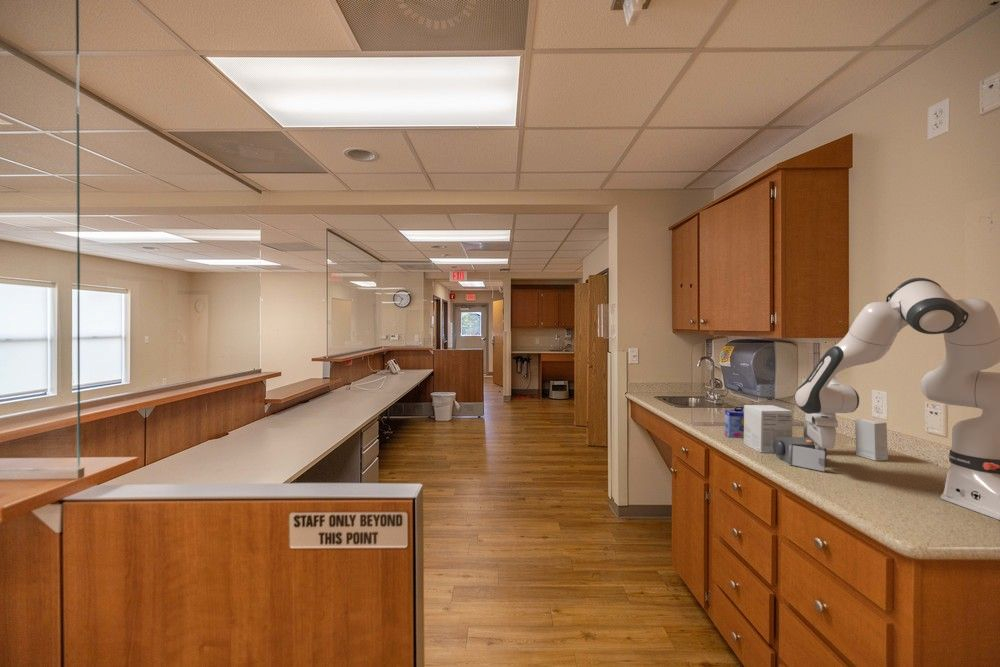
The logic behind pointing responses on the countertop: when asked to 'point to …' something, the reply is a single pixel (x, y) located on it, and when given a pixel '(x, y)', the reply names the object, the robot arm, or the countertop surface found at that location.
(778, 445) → the camera housing
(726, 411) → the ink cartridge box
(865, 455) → the skincare box
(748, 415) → the supplement box
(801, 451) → the side door
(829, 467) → the countertop surface
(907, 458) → the countertop surface
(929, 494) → the countertop surface
